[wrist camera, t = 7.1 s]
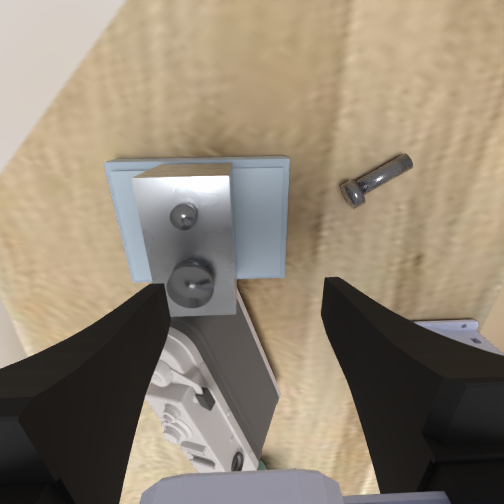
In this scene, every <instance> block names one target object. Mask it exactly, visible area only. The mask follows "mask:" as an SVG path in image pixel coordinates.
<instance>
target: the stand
mask: <svg viewBox="0 0 504 504" xmlns="http://www.w3.org/2000/svg"><path fill="white" fill-rule="evenodd" d="M103 163H104V167H105V171H106V175H107V179H108V183H109V187H110V192H111V196H112V200H113V204H114V208H115V212H116V216H117V220H118V225H119V229H120V233H121V237H122V241H123V245H124V249H125V253H126V258H127V262H128V266H129V270H130V274H131V278H132V282H133V283H134V282H152V278H151V273H150V268H149V263H148V258H147V253H146V248H145V243H144V239H143V234H142V229H141V224H140V219H139V214H138V209H137V205H136V200H135V195H134V190H133V185H132V180H131V178H132V177H134V176H137V175H139V174H141V173H143V172H145V171H147V170H149V169H152V168H154V167H156V166H158V165H160V164H194V163H232V167H233V189H234V211H235V233H236V255H237V279H257V278H285V259H286V236H287V212H288V189H289V165H290V158H288V157H287V156H241V157H192V158H144V159H115V160H111V161H107V162H103Z"/></svg>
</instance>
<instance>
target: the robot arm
mask: <svg viewBox="0 0 504 504" xmlns="http://www.w3.org/2000/svg"><path fill="white" fill-rule="evenodd" d="M321 317H322V320H323V324H324V327H325V331H326V334H327V336H328V339H329V341H330V343H331V346H332V348H333V350H334V353H335V355H336V357H337V359H338V362H339V364H340V366H341V368H342V371H343V373H344V375H345V377H346V380H347V382H348V385H349V388H350V390H351V394H352V397H353V400H354V403H355V406H356V409H357V412H358V415H359V419H360V422H361V425H362V429H363V432H364V435H365V438H366V442H367V446H368V449H369V453H370V456H371V460H372V463H373V467H374V471H375V475H376V478H377V482H378V486H379V490H380V494H373V495H353V496H342V494H341V490H340V487H339V483H337V482H336V481H335V480H333V479H332V478H330V477H328V476H326V475H324V474H323V473H321V472H319V471H315V470H306V469H296V468H294V469H274V470H253V471H232V472H212V473H191V474H181V475H176V476H171V477H166V478H162V479H161V480H159V481H158V482H157V483H155V484H154V485H152V486H151V487H150V488H148V489H147V490H146V491H144V492H143V493H142V496H141V500H140V504H504V354H503V353H502V352H501V351H500V350H499V349H497V348H496V347H495V346H494V345H493V344H492V343H490V342H489V341H488V340H487V339H486V338H485V337H483V336H482V335H481V334H480V333H479V332H478V331H477V328H478V326H479V323H478V322H477V321H476V320H473V319H471V320H445V321H418V322H412V321H410V320H408V319H406V318H404V317H402V316H400V315H398V314H396V313H394V312H392V311H391V310H389V309H387V308H386V307H384V306H382V305H381V304H379V303H377V302H376V301H374V300H373V299H371V298H369V297H368V296H366V295H365V294H363V293H362V292H360V291H359V290H357V289H356V288H355V287H353V286H352V285H350V284H349V283H347V282H346V281H344V280H343V279H341V278H339V277H325V281H324V290H323V299H322V309H321ZM170 323H171V317H170V311H169V306H168V301H167V295H166V290H165V285H164V283H156V284H149V285H148V286H146V287H145V288H143V289H142V290H140V291H139V292H138V293H136V294H135V295H134V296H132V297H131V298H130V299H128V300H127V301H126V302H124V303H123V304H121V305H120V306H119V307H117V308H116V309H114V310H113V311H112V312H110V313H109V314H107V315H106V316H104V317H103V318H101V319H100V320H98V321H97V322H95V323H94V324H92V325H90V326H89V327H87V328H85V329H84V330H82V331H80V332H78V333H77V334H75V335H73V336H71V337H69V338H68V339H66V340H64V341H62V342H60V343H58V344H55V345H53V346H51V347H49V348H47V349H45V350H43V351H41V352H39V353H37V354H35V355H32V356H30V357H28V358H26V359H23V360H21V361H19V362H16V363H14V364H11V365H9V366H6V367H4V368H1V369H0V504H119V502H120V497H121V492H122V487H123V482H124V478H125V474H126V469H127V465H128V461H129V456H130V452H131V448H132V444H133V440H134V436H135V432H136V428H137V424H138V420H139V417H140V413H141V409H142V406H143V402H144V398H145V395H146V392H147V389H148V387H149V384H150V381H151V379H152V376H153V374H154V371H155V369H156V366H157V364H158V361H159V358H160V356H161V353H162V351H163V348H164V345H165V343H166V340H167V336H168V332H169V328H170Z"/></svg>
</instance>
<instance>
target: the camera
mask: <svg viewBox="0 0 504 504" xmlns="http://www.w3.org/2000/svg"><path fill="white" fill-rule="evenodd" d="M280 395H281V392H280V389H279V387H278V384H277V382H276V380H275V377H274V375H273V372H272V370H271V368H270V365H269V363H268V360H267V358H266V356H265V353H264V351H263V348H262V346H261V344H260V341H259V339H258V336H257V334H256V332H255V329H254V327H253V324H252V322H251V320H250V317H249V315H248V313H247V310H246V308H245V305H244V303H243V301H242V298H241V296H240V293H239V291H238V289H237V303H236V314H233V315H206V316H178V317H171V323H170V328H169V332H168V336H167V340H166V343H165V345H164V348H163V351H162V353H161V356H160V358H159V361H158V364H157V366H156V369H155V371H154V374H153V376H152V379H151V384H150V385H149V387H148V389H147V392H146V395H145V400H146V401H147V402H148V404H149V405H150V406H151V408H152V409H153V411H154V412H155V413H156V415H157V416H158V418H159V419H160V420H161V422H162V424H161V425H162V428H163V430H164V432H163V436H164V438H165V439H166V440H168V441H169V442H171V443H173V444H178V445H179V447H180V448H181V450H182V451H183V452H184V454H185V455H186V457H187V458H188V459H189V461H190V462H191V464H192V465H193V466H194V468H195V469H196V471H197V472H198V473H212V472H232V471H253V470H257V468H258V465H259V460H260V457H261V454H262V448H263V445H264V442H265V439H266V435H267V432H268V429H269V426H270V423H271V420H272V417H273V413H274V410H275V407H276V404H277V403H278V401H279V398H280Z"/></svg>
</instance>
